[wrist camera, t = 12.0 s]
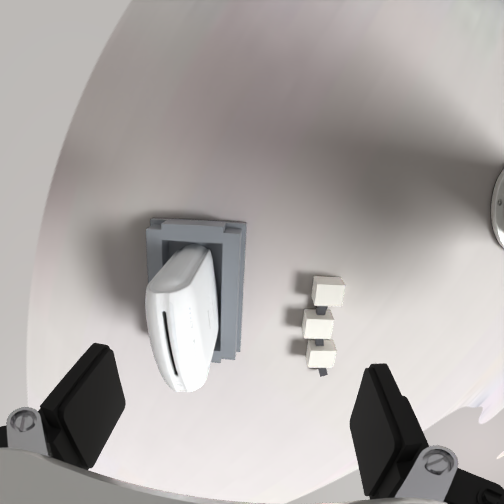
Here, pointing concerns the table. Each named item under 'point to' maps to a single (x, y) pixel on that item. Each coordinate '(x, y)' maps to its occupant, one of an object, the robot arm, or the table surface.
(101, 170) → the table surface
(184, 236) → the end holder
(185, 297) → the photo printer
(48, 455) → the robot arm
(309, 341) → the white cube chain
